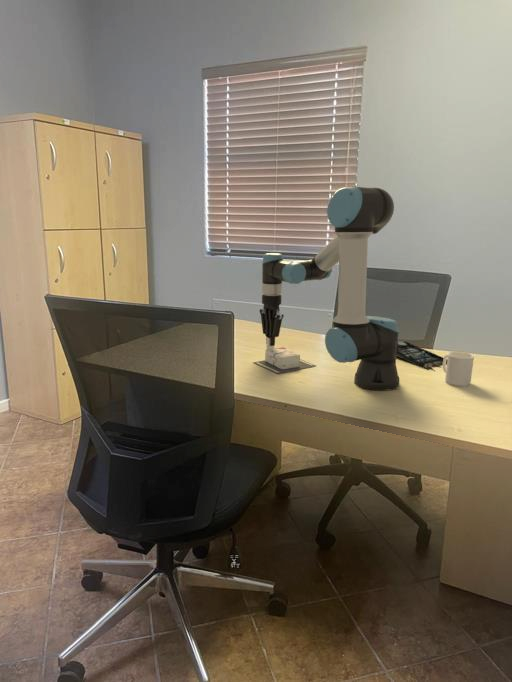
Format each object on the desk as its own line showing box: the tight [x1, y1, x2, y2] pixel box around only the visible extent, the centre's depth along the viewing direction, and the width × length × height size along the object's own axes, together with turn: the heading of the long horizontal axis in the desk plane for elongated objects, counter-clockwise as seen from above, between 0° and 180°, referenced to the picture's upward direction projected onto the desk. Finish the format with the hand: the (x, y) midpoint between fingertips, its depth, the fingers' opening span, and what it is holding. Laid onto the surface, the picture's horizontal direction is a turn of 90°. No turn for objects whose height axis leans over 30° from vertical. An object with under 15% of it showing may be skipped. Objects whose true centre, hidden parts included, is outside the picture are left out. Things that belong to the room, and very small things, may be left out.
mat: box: [252, 358, 317, 375], centre depth 200 cm, size 16×18×1 cm
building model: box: [396, 340, 448, 372], centre depth 208 cm, size 14×7×30 cm
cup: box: [442, 351, 475, 388], centre depth 182 cm, size 8×12×10 cm
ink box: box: [264, 346, 301, 369], centre depth 199 cm, size 9×5×12 cm
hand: (270, 352), depth 207 cm, fingers closed
